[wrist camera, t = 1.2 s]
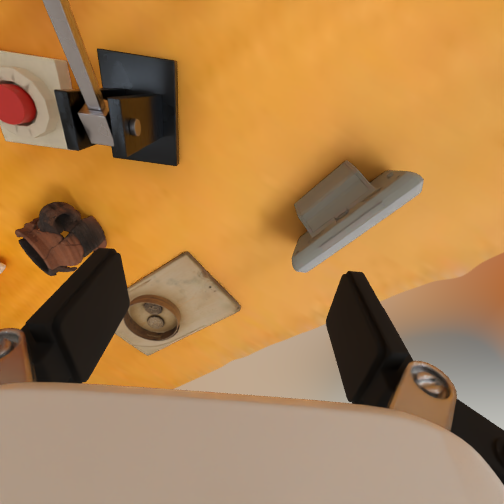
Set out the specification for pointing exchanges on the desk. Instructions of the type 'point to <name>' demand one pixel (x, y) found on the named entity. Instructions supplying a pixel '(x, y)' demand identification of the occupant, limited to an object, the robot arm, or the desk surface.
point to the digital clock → (347, 210)
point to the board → (173, 305)
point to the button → (16, 105)
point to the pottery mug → (60, 238)
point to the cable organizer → (2, 267)
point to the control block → (36, 97)
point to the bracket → (130, 108)
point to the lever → (81, 73)
